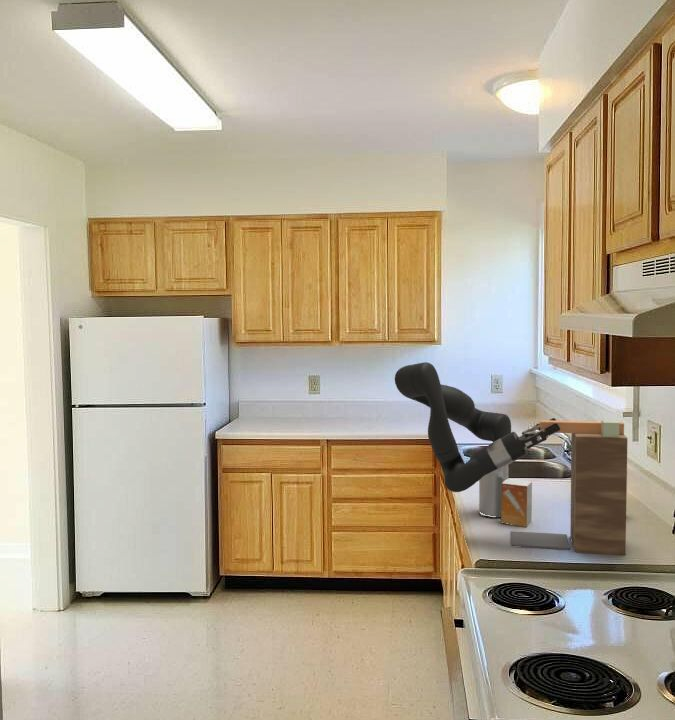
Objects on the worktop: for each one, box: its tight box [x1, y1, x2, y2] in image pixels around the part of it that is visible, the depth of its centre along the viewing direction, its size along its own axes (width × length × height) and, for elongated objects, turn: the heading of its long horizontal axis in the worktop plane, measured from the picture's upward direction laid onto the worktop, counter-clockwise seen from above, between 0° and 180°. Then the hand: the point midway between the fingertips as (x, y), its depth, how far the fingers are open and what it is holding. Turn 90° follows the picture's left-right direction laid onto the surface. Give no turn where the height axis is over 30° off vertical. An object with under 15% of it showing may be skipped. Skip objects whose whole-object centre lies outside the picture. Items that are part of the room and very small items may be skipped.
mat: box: [510, 530, 572, 551], centre depth 205 cm, size 12×16×1 cm
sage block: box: [601, 419, 620, 438], centre depth 194 cm, size 4×4×4 cm
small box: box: [500, 478, 533, 528], centre depth 222 cm, size 8×6×13 cm
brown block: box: [539, 419, 625, 435], centre depth 200 cm, size 3×22×3 cm, turn 77°
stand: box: [569, 433, 628, 556], centre depth 200 cm, size 13×13×32 cm
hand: (557, 423), depth 201 cm, fingers open, 8 cm apart
